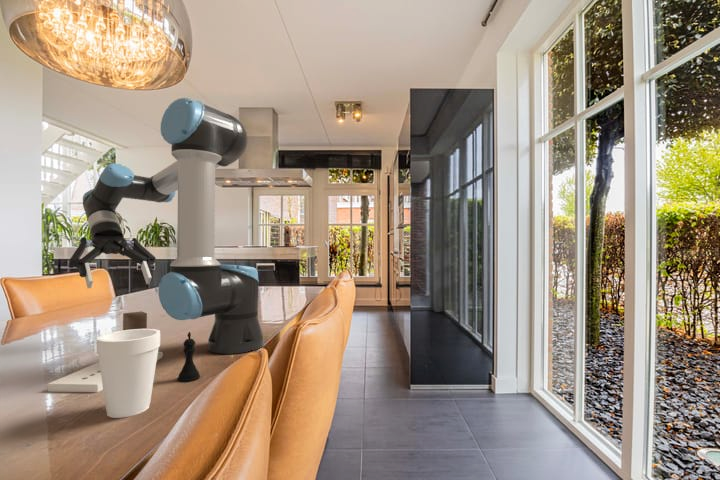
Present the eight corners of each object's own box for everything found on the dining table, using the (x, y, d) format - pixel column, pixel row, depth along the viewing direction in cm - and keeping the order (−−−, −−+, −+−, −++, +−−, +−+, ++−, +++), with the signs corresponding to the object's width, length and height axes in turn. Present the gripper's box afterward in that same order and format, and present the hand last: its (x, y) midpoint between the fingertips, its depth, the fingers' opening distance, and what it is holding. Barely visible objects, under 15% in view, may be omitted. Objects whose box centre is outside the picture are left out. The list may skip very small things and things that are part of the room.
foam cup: (117, 398, 68) (118, 329, 68) (168, 397, 68) (169, 328, 69) (82, 423, 58) (83, 342, 58) (142, 421, 59) (143, 341, 59)
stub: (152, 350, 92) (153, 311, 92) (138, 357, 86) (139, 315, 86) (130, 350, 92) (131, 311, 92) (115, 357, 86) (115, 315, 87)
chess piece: (175, 383, 75) (175, 335, 76) (180, 375, 80) (181, 330, 80) (197, 381, 76) (198, 333, 77) (201, 374, 81) (202, 329, 81)
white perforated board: (162, 357, 93) (162, 351, 93) (97, 392, 71) (97, 384, 71) (124, 357, 93) (124, 350, 93) (47, 391, 71) (47, 383, 71)
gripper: (148, 239, 118) (166, 287, 108) (49, 238, 100) (59, 296, 89) (154, 222, 115) (173, 270, 105) (52, 217, 96) (63, 276, 86)
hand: (121, 282), depth 97 cm, fingers open, 13 cm apart
